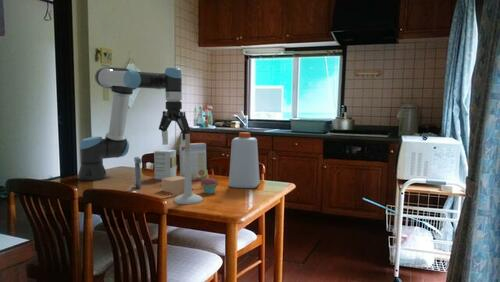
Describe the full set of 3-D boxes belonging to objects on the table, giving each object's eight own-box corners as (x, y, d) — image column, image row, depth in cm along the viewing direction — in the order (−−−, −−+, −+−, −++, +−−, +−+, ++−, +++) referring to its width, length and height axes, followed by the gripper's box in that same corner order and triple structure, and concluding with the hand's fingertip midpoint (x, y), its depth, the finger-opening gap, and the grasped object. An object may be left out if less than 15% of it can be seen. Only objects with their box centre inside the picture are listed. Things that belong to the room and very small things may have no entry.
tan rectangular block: (158, 193, 176) (158, 179, 176) (178, 189, 186) (177, 175, 185) (169, 196, 171) (169, 181, 171) (188, 192, 181) (188, 177, 180)
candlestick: (200, 196, 172) (199, 131, 170) (204, 203, 160) (204, 134, 157) (172, 198, 169) (171, 132, 166) (174, 205, 157) (173, 134, 154)
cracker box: (203, 178, 214) (203, 142, 212) (206, 180, 208) (206, 143, 206) (179, 180, 208) (179, 143, 206) (182, 182, 202) (181, 144, 200)
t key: (136, 190, 177) (136, 159, 176) (134, 186, 186) (133, 156, 185) (142, 190, 178) (141, 159, 177) (139, 186, 187) (138, 156, 186)
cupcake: (210, 195, 174) (210, 170, 173) (196, 192, 179) (196, 168, 178) (221, 191, 182) (221, 167, 180) (207, 189, 186) (207, 165, 185)
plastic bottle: (233, 181, 205) (233, 131, 202) (260, 183, 202) (261, 131, 199) (227, 187, 190) (227, 133, 187) (256, 189, 187) (256, 134, 185)
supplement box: (169, 182, 204) (169, 151, 202) (154, 181, 205) (153, 151, 204) (176, 178, 213) (176, 149, 211) (161, 177, 215) (161, 149, 213)
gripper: (151, 100, 180) (151, 144, 182) (185, 101, 165) (185, 148, 167) (163, 101, 186) (164, 143, 188) (197, 101, 170) (197, 147, 172)
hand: (174, 145), depth 177 cm, fingers open, 13 cm apart
